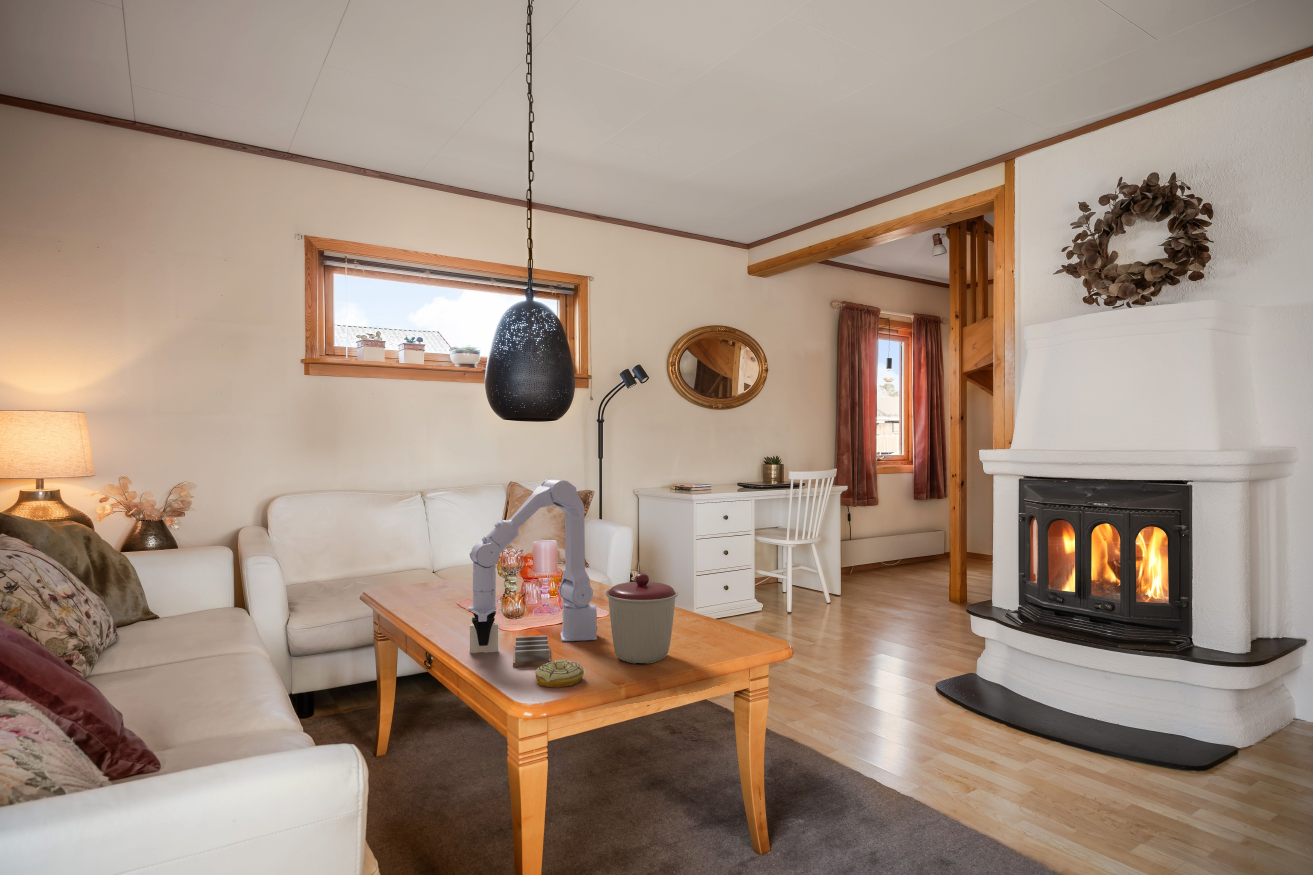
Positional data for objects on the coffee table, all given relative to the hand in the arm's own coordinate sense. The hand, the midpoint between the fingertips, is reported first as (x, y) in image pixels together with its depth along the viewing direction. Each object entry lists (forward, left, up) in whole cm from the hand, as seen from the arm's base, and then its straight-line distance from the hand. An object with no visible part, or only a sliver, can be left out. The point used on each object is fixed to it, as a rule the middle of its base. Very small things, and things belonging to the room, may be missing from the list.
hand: (484, 642), depth 183 cm
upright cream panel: (0, 0, -2) cm, 2 cm away
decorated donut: (-18, +25, -3) cm, 31 cm away
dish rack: (-12, +7, -2) cm, 14 cm away
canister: (-39, +12, -2) cm, 41 cm away
